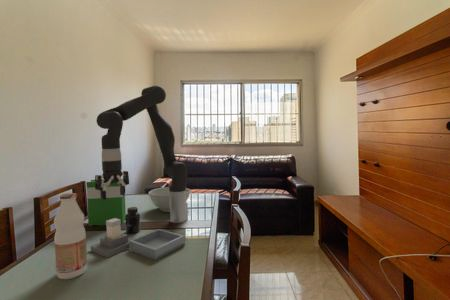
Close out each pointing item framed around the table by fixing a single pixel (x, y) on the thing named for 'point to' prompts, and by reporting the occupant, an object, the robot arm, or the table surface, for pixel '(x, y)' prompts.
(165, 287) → the table surface
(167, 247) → the parts tray
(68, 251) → the fruit juice
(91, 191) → the green cereal box
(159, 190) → the decorative bowl
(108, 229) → the block
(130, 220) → the supplement bottle
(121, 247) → the grey stepped block piece
